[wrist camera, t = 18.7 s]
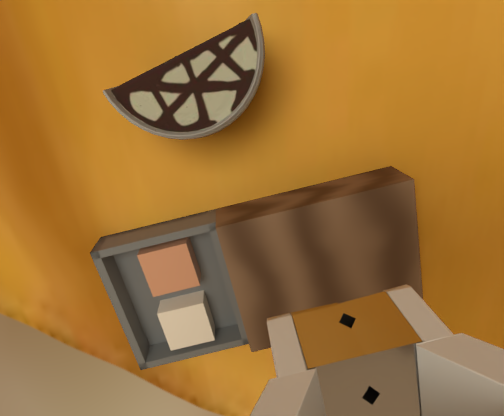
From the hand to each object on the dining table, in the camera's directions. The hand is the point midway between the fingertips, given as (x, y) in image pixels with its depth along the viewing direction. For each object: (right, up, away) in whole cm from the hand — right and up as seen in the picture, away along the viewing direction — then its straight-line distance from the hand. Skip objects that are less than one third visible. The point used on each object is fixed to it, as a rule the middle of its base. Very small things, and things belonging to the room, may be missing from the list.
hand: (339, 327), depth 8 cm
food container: (-6, +14, +28) cm, 32 cm away
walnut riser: (+5, -2, +34) cm, 35 cm away
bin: (-10, -6, +35) cm, 36 cm away
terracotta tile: (-10, -4, +30) cm, 32 cm away
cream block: (-9, -10, +33) cm, 35 cm away
